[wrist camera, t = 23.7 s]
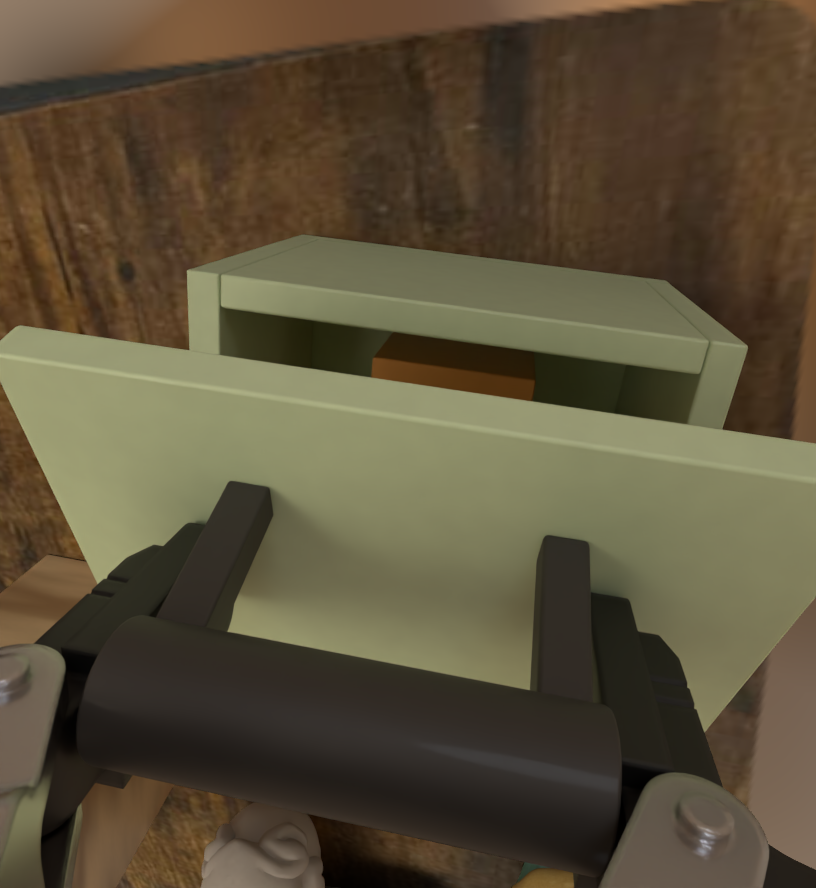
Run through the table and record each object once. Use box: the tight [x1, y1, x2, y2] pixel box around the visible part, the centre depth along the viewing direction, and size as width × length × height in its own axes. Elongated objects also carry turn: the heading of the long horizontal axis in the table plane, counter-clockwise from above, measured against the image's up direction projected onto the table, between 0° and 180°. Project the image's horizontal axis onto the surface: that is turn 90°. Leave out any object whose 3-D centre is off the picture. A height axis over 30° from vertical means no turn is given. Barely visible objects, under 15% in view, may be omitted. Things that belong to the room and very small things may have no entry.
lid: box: [0, 325, 816, 877], centre depth 13 cm, size 16×13×5 cm
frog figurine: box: [201, 802, 325, 888], centre depth 32 cm, size 6×7×7 cm
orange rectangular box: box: [371, 332, 536, 401], centre depth 22 cm, size 5×5×5 cm
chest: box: [187, 235, 748, 430], centre depth 22 cm, size 16×13×9 cm
